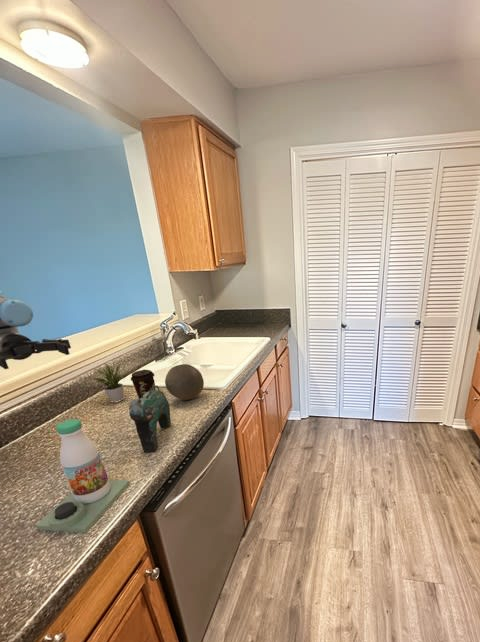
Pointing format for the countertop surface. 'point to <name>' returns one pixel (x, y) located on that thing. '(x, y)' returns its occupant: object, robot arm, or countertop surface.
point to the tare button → (65, 510)
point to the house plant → (111, 383)
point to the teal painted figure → (150, 417)
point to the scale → (83, 511)
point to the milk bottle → (82, 463)
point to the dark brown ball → (184, 382)
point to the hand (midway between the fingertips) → (37, 356)
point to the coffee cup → (143, 381)
